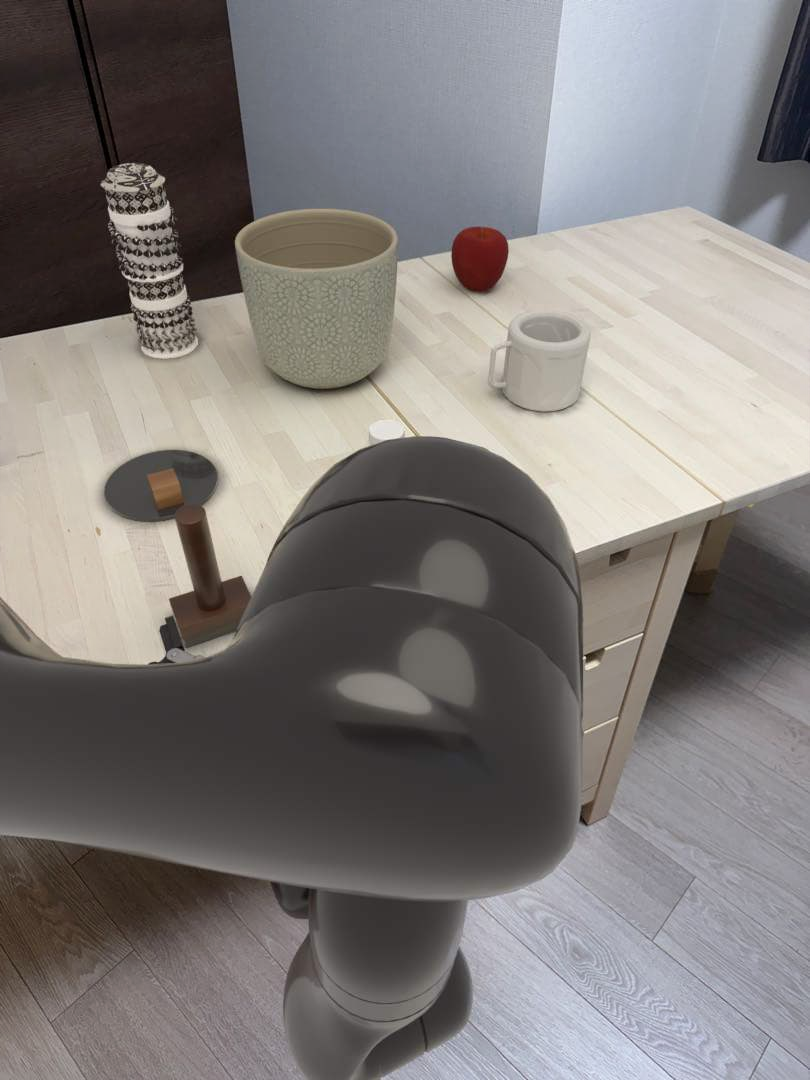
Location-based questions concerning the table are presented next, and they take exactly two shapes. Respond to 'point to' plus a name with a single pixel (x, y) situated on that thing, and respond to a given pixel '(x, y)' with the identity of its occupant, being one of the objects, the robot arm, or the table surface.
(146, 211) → the white patterned cylinder
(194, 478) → the plate
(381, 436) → the pill bottle
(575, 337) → the mug
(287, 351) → the planter
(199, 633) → the wooden peg
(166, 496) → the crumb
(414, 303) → the table surface
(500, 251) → the apple
